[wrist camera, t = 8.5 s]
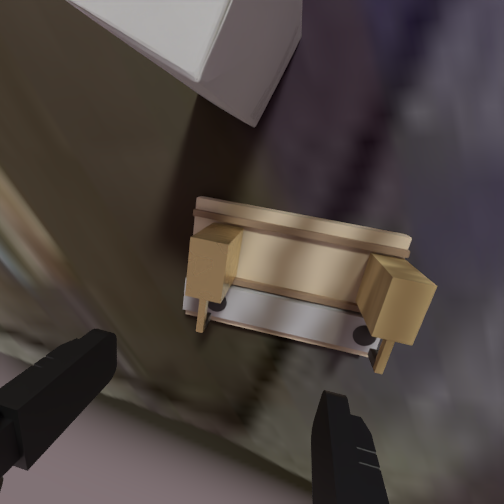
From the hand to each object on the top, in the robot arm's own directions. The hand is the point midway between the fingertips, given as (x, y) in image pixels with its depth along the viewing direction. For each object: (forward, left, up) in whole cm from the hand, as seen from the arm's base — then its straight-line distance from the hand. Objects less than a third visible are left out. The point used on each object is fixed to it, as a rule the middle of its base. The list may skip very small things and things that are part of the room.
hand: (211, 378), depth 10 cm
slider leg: (+4, +2, -17) cm, 17 cm away
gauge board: (-3, +3, -19) cm, 19 cm away
